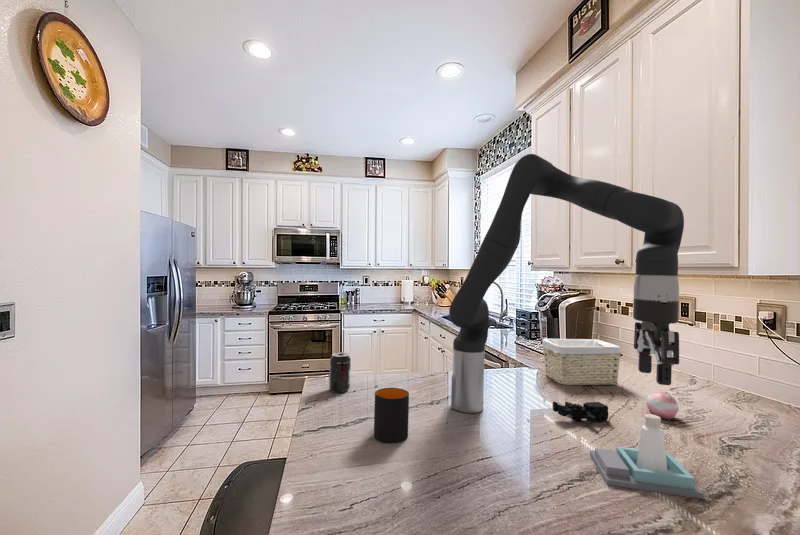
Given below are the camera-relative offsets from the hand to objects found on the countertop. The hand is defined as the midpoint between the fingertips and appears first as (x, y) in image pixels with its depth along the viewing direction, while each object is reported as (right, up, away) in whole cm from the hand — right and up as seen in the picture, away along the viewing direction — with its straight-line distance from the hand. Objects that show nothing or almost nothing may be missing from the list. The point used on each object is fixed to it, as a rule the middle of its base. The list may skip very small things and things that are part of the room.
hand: (653, 378), depth 74 cm
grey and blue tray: (-2, -20, 0) cm, 20 cm away
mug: (-54, -19, +17) cm, 60 cm away
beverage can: (-71, -19, +47) cm, 88 cm away
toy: (-1, -20, +28) cm, 34 cm away
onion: (+25, -21, +32) cm, 45 cm away
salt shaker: (-1, -19, 0) cm, 19 cm away
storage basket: (+18, -21, +67) cm, 73 cm away
